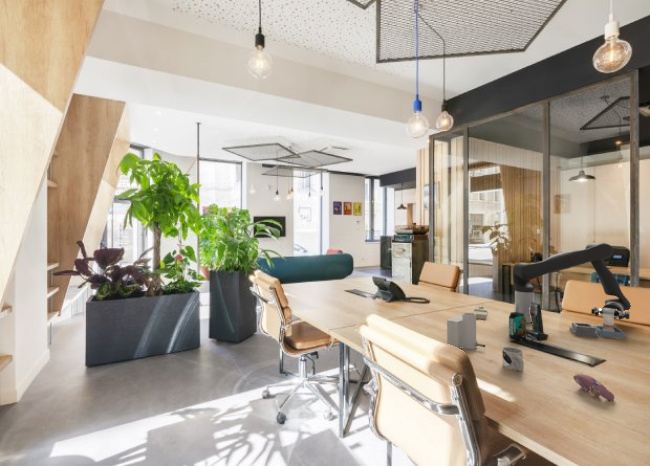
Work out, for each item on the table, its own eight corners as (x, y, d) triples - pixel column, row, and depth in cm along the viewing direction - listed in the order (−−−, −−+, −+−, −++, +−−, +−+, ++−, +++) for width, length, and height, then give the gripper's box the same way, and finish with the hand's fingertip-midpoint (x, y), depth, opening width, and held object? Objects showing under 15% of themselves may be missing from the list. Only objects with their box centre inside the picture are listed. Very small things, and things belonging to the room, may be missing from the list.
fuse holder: (575, 335, 157) (575, 326, 157) (569, 330, 165) (569, 321, 165) (598, 337, 153) (597, 328, 153) (591, 332, 161) (591, 323, 161)
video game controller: (576, 391, 107) (568, 373, 107) (587, 384, 108) (579, 366, 107) (605, 407, 97) (596, 387, 97) (617, 399, 98) (608, 380, 97)
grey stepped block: (458, 339, 153) (458, 308, 153) (489, 347, 143) (489, 314, 143) (447, 346, 145) (446, 313, 144) (479, 355, 135) (479, 319, 134)
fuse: (604, 333, 156) (604, 309, 156) (601, 331, 160) (601, 307, 160) (616, 334, 155) (616, 310, 154) (612, 332, 159) (612, 308, 158)
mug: (499, 363, 126) (499, 346, 126) (516, 363, 126) (516, 346, 126) (513, 375, 116) (513, 356, 116) (531, 375, 116) (531, 356, 116)
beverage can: (528, 341, 150) (528, 315, 150) (512, 340, 151) (512, 315, 151) (522, 336, 157) (522, 312, 157) (506, 335, 158) (506, 311, 158)
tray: (600, 336, 155) (600, 330, 155) (592, 330, 164) (592, 325, 164) (625, 339, 151) (625, 333, 151) (616, 332, 160) (616, 327, 160)
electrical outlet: (473, 311, 190) (475, 305, 205) (473, 318, 190) (475, 311, 205) (486, 313, 186) (487, 306, 202) (486, 320, 186) (487, 312, 202)
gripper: (595, 300, 172) (589, 305, 161) (631, 305, 161) (627, 310, 151) (595, 314, 172) (589, 320, 161) (631, 319, 161) (627, 326, 151)
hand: (608, 315), depth 156 cm, fingers open, 8 cm apart
